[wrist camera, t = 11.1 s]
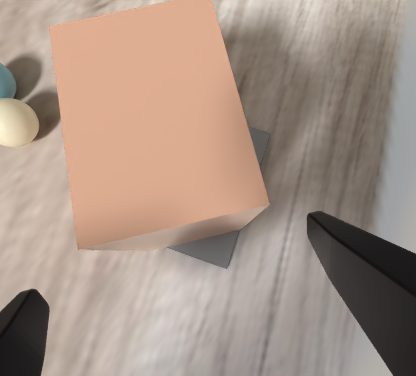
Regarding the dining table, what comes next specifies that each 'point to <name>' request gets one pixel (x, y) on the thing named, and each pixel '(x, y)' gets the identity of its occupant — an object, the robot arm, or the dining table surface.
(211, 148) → the peach rectangular box
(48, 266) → the dining table surface
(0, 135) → the marble
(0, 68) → the marble
